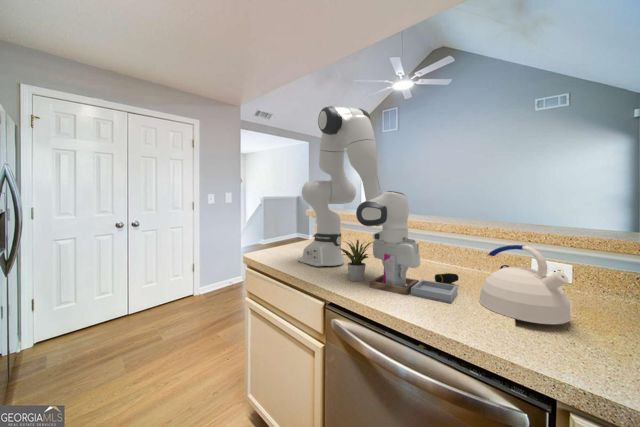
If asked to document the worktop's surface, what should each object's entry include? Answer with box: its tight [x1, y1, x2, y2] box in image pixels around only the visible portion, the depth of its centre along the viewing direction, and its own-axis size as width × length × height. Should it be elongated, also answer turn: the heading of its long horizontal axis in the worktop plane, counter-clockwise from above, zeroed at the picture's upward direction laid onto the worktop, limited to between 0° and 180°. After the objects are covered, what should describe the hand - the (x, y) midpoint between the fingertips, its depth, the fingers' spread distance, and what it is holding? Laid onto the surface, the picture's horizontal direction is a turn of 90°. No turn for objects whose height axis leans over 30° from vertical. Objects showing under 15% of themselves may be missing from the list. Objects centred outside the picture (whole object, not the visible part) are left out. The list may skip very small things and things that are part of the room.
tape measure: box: [434, 272, 459, 284], centre depth 94 cm, size 7×7×4 cm
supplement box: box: [382, 254, 407, 287], centre depth 91 cm, size 6×6×12 cm
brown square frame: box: [368, 273, 420, 296], centre depth 91 cm, size 13×13×2 cm
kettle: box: [478, 244, 572, 325], centre depth 72 cm, size 20×21×18 cm
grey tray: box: [410, 279, 459, 304], centre depth 83 cm, size 12×12×2 cm
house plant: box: [339, 239, 373, 282], centre depth 100 cm, size 14×14×16 cm
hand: (394, 274), depth 91 cm, fingers closed on supplement box, 6 cm apart
